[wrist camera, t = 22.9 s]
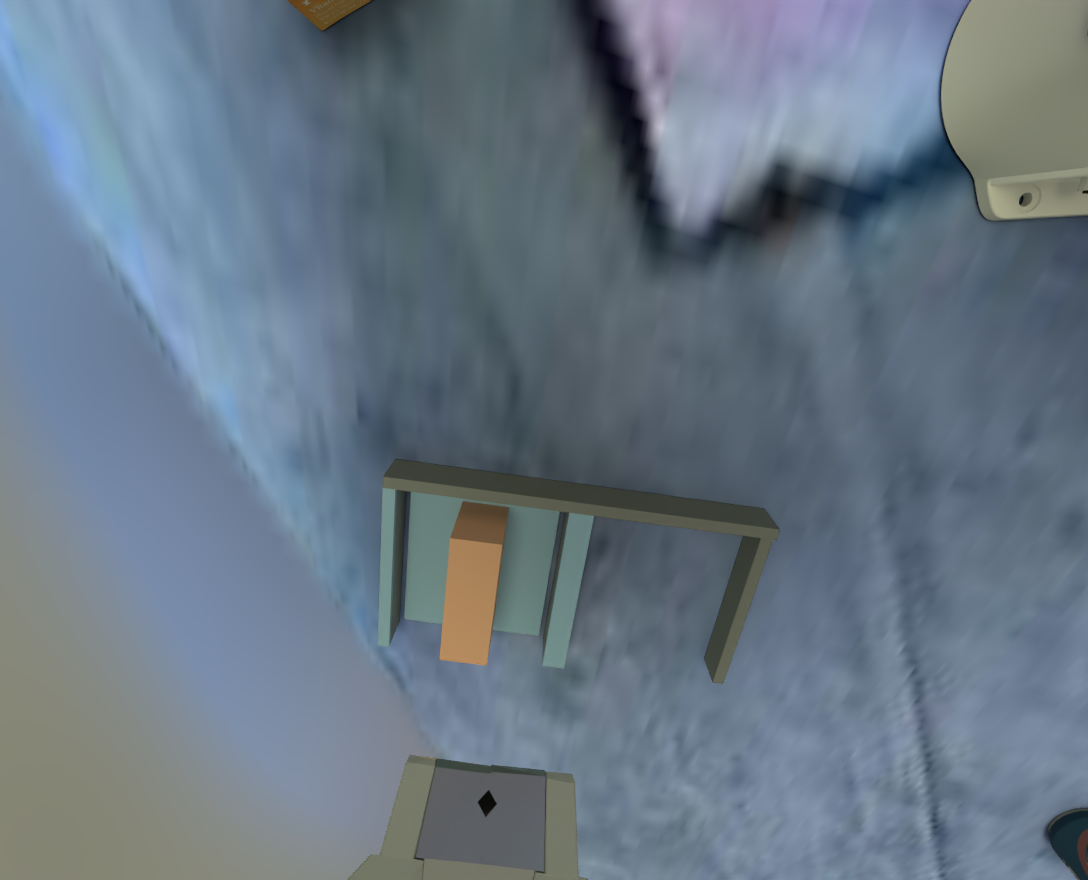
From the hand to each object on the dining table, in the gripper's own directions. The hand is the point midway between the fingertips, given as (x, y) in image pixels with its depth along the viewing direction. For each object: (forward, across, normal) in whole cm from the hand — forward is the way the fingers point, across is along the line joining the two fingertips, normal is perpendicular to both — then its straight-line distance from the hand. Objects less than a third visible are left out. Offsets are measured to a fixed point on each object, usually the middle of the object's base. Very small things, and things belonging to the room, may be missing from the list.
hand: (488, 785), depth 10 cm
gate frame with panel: (+34, -5, +19) cm, 39 cm away
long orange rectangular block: (+34, +3, +19) cm, 39 cm away
